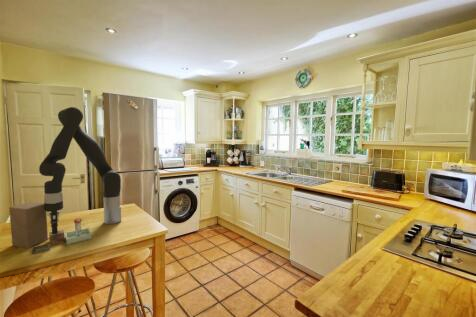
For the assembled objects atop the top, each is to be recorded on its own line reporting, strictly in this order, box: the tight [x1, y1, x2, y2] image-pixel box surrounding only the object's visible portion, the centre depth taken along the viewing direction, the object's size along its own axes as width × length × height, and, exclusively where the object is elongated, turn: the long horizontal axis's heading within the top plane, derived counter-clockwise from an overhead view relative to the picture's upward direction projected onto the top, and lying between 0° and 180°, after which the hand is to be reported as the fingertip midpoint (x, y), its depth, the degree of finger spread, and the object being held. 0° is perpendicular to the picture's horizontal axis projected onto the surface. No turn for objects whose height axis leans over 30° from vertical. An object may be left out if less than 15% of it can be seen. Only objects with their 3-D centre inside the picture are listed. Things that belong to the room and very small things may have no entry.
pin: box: [73, 218, 83, 237], centre depth 122 cm, size 3×3×10 cm
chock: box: [48, 229, 66, 246], centre depth 118 cm, size 6×4×5 cm
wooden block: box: [8, 201, 49, 249], centre depth 115 cm, size 10×10×20 cm
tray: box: [64, 227, 93, 246], centre depth 122 cm, size 11×10×3 cm
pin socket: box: [32, 242, 51, 255], centre depth 110 cm, size 6×6×1 cm
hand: (54, 230), depth 118 cm, fingers open, 8 cm apart
